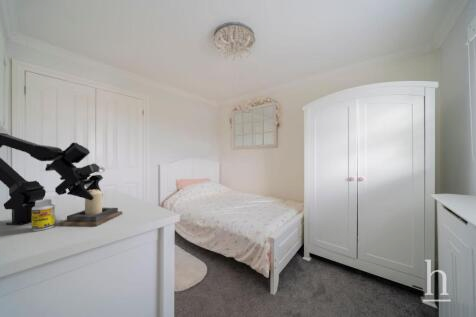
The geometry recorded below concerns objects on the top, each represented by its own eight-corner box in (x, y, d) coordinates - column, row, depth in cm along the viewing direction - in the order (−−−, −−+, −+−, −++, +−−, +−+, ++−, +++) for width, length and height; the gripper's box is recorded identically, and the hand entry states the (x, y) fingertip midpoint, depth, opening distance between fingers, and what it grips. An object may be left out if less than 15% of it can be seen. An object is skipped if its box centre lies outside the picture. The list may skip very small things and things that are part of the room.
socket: (60, 225, 66) (60, 217, 66) (92, 213, 80) (92, 206, 80) (96, 226, 66) (96, 217, 66) (122, 214, 80) (122, 207, 80)
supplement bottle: (27, 232, 60) (27, 203, 60) (37, 226, 65) (37, 199, 65) (49, 230, 62) (49, 201, 62) (57, 224, 67) (57, 198, 67)
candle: (97, 215, 71) (97, 190, 71) (81, 216, 69) (81, 191, 69) (104, 211, 76) (105, 188, 76) (90, 211, 75) (90, 188, 75)
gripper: (64, 157, 63) (97, 188, 64) (98, 157, 81) (123, 181, 83) (39, 179, 62) (73, 209, 63) (79, 174, 80) (105, 197, 82)
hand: (97, 197), depth 73 cm, fingers closed on candle, 5 cm apart
